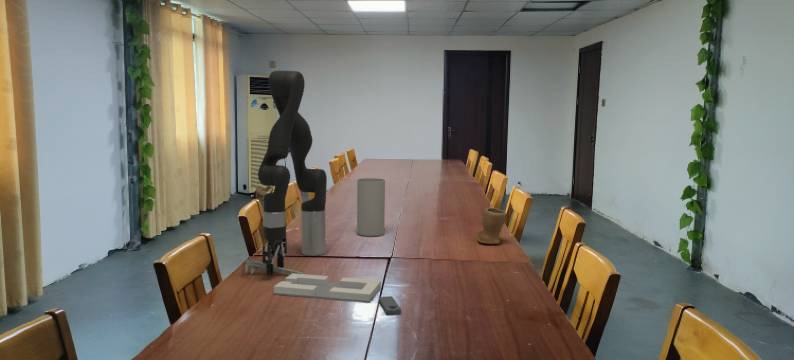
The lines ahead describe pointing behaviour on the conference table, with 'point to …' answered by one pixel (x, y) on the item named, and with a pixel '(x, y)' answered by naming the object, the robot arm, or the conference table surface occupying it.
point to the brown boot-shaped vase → (491, 226)
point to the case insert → (328, 288)
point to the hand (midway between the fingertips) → (275, 271)
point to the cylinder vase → (370, 207)
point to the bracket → (389, 306)
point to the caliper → (262, 267)
